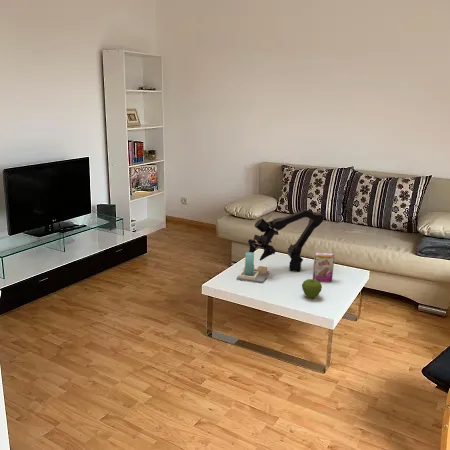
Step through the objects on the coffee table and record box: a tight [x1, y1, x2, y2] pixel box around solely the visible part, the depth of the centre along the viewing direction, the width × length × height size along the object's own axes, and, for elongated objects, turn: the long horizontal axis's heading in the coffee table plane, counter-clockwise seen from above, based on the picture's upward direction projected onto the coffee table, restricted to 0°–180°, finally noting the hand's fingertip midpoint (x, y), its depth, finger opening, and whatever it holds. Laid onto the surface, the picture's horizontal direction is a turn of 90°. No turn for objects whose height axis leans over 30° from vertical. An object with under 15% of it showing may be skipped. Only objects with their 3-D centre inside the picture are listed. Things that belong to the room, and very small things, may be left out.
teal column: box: [244, 251, 255, 276], centre depth 286 cm, size 5×5×14 cm
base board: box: [236, 265, 271, 284], centre depth 290 cm, size 16×17×4 cm
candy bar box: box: [312, 252, 335, 283], centre depth 284 cm, size 11×5×16 cm, turn 84°
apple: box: [301, 278, 323, 299], centre depth 262 cm, size 11×10×10 cm
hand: (254, 258), depth 288 cm, fingers open, 9 cm apart
